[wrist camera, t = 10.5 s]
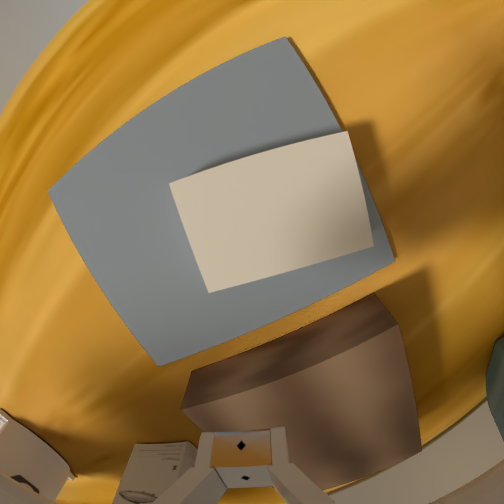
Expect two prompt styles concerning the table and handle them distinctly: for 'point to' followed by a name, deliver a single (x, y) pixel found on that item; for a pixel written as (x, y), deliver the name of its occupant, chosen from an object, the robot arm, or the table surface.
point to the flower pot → (496, 385)
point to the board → (320, 394)
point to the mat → (167, 216)
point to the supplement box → (154, 471)
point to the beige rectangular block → (274, 211)
